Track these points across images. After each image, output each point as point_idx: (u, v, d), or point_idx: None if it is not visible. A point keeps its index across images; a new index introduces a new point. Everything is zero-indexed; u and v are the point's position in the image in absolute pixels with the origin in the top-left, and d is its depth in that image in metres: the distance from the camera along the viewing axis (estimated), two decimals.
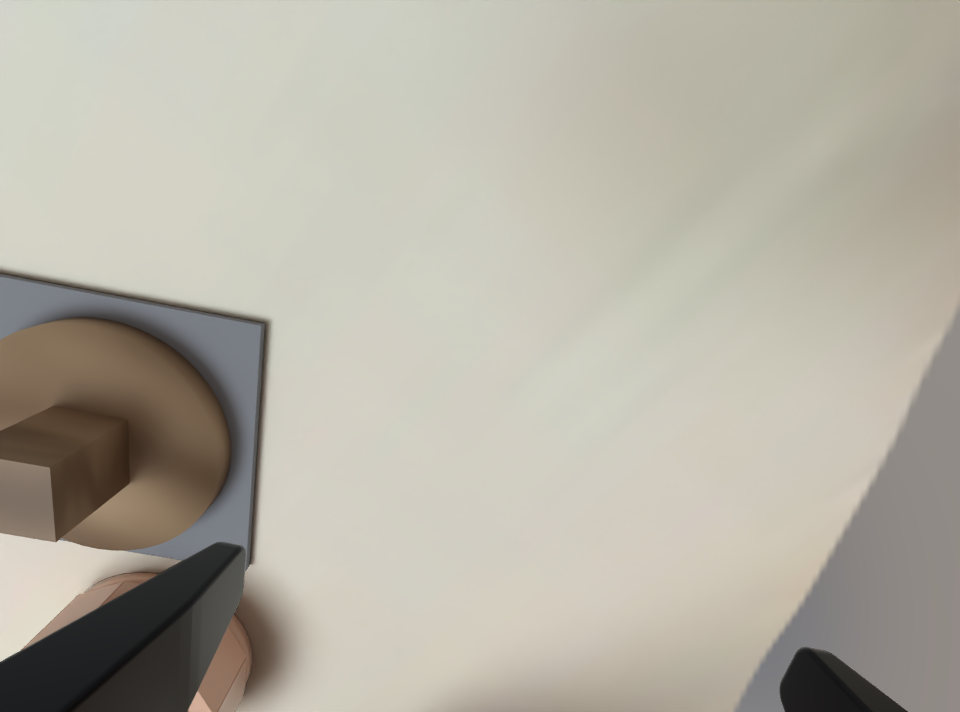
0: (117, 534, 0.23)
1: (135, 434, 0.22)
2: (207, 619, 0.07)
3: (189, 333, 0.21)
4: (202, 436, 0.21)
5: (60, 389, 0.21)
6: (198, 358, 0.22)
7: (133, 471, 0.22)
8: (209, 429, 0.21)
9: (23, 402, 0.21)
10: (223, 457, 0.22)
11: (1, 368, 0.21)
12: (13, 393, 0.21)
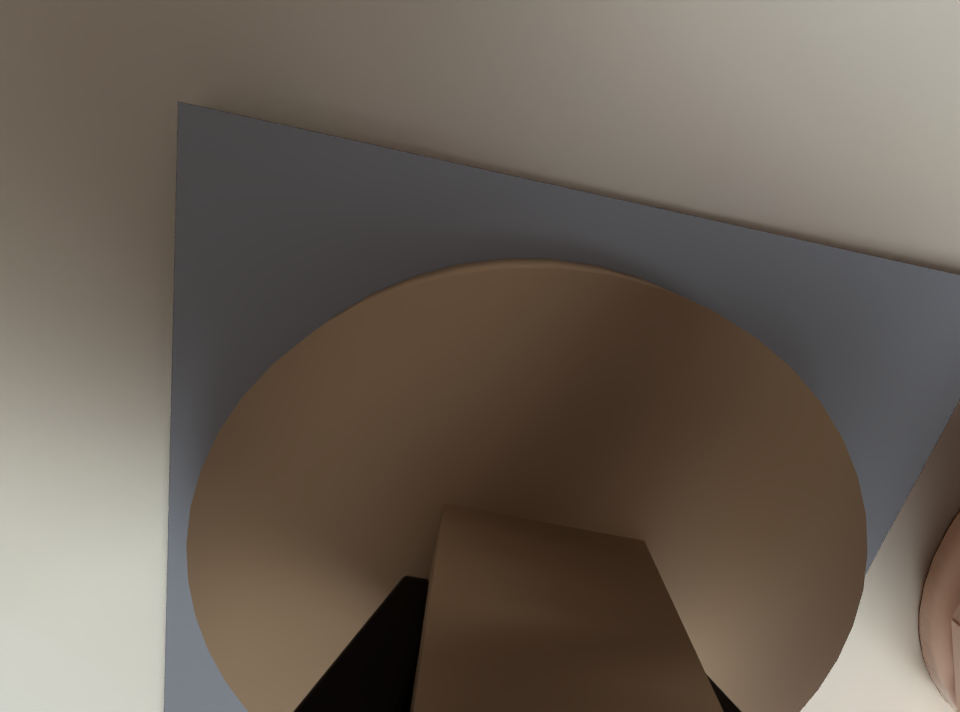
0: (803, 603, 0.08)
1: (489, 496, 0.08)
2: None
3: (233, 317, 0.08)
4: (498, 307, 0.07)
5: None
6: (300, 306, 0.08)
7: (608, 525, 0.08)
8: (474, 281, 0.07)
9: None
10: (588, 268, 0.07)
11: None
12: None
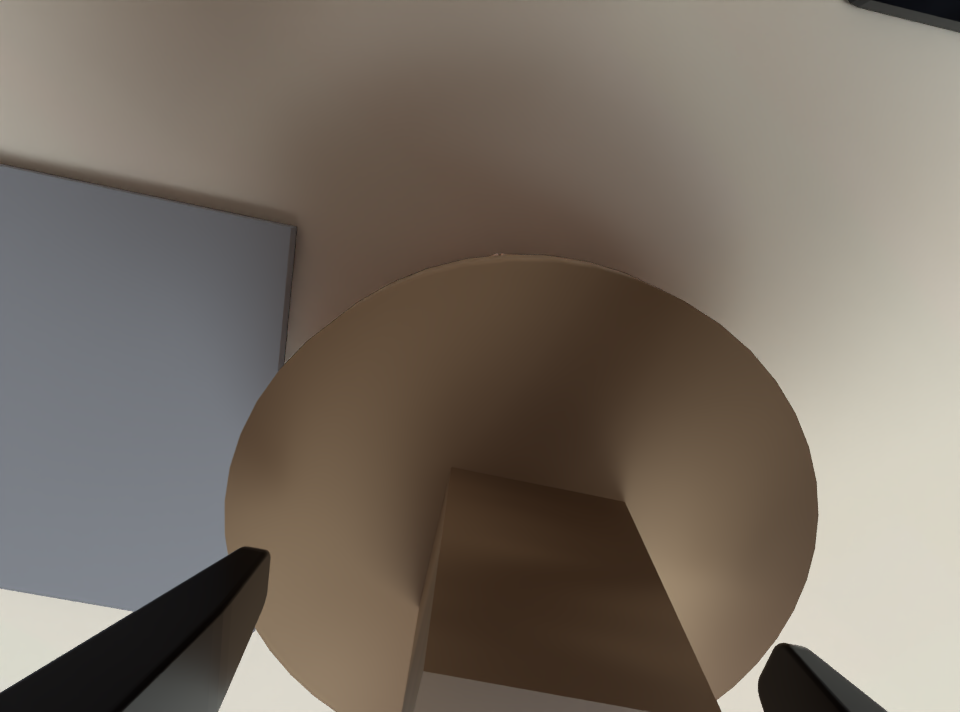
0: (763, 560, 0.09)
1: (491, 460, 0.09)
2: (236, 624, 0.07)
3: None
4: (501, 295, 0.08)
5: (378, 584, 0.10)
6: None
7: (592, 487, 0.09)
8: (481, 272, 0.08)
9: (411, 656, 0.10)
10: (578, 263, 0.08)
11: (337, 671, 0.10)
12: (392, 666, 0.10)
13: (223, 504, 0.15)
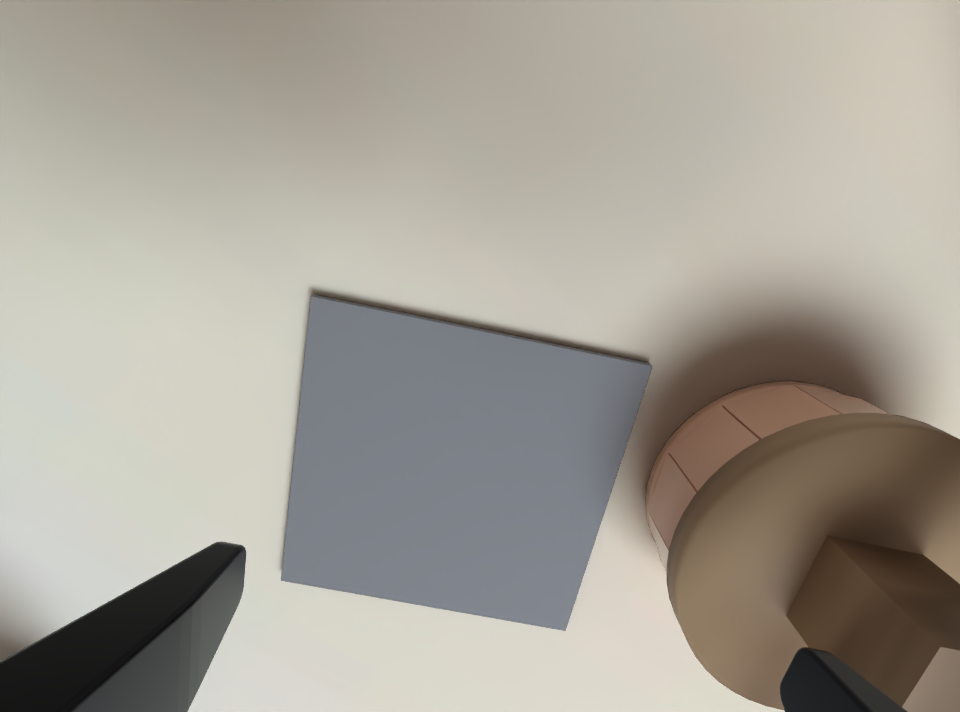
0: None
1: (851, 532, 0.15)
2: (207, 619, 0.07)
3: (327, 377, 0.19)
4: (878, 445, 0.14)
5: (766, 602, 0.16)
6: (356, 373, 0.19)
7: (907, 546, 0.15)
8: (869, 434, 0.14)
9: (773, 645, 0.17)
10: (912, 424, 0.15)
11: (725, 654, 0.17)
12: (760, 651, 0.17)
13: (564, 542, 0.21)
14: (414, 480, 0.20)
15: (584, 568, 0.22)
